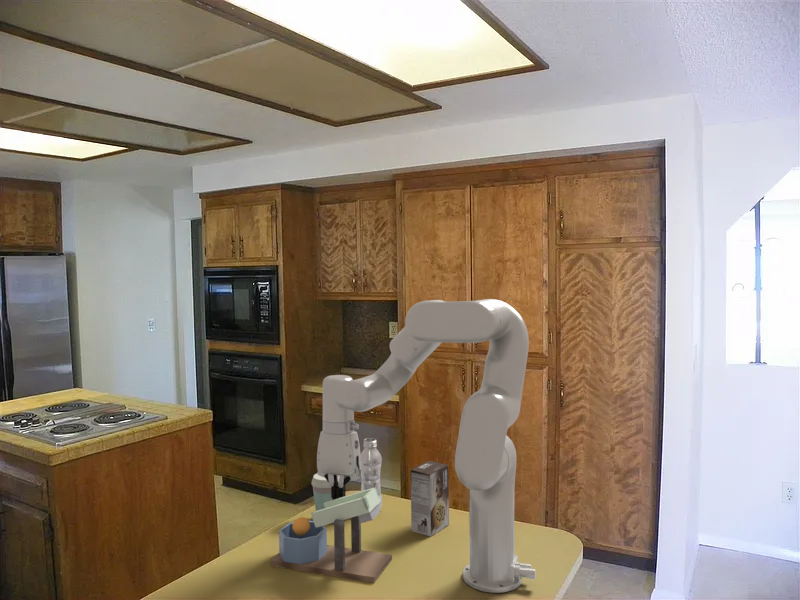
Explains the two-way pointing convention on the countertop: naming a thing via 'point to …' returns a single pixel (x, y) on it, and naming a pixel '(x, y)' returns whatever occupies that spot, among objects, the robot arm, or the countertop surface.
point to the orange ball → (301, 526)
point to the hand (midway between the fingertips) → (338, 501)
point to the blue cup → (302, 544)
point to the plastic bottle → (371, 467)
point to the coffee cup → (321, 491)
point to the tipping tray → (349, 508)
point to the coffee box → (429, 498)
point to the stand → (344, 557)
